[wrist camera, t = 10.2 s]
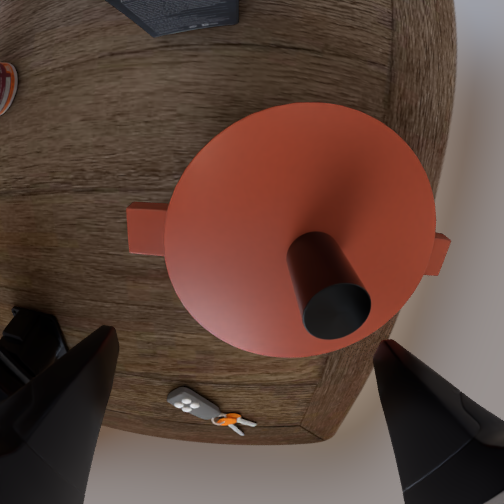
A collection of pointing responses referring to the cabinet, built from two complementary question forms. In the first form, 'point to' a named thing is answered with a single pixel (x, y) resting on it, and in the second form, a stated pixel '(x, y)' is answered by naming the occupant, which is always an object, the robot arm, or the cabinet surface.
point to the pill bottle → (7, 85)
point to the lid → (299, 230)
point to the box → (178, 14)
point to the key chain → (204, 408)
